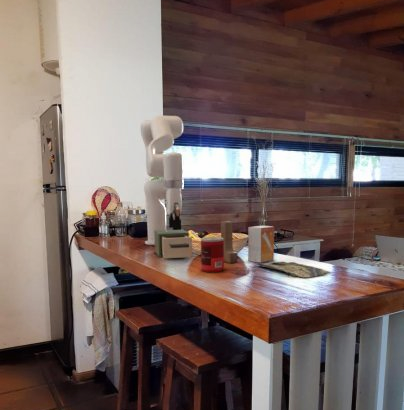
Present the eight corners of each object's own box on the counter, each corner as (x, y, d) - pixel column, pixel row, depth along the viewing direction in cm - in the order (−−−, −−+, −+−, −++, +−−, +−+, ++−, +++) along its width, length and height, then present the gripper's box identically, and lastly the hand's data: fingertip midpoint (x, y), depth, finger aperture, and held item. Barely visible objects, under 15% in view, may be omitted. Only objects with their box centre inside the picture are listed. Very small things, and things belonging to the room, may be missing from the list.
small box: (261, 263, 155) (261, 227, 153) (247, 261, 159) (247, 226, 157) (274, 260, 160) (274, 226, 158) (261, 258, 165) (261, 225, 163)
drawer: (195, 259, 160) (194, 239, 159) (165, 261, 157) (164, 240, 156) (185, 251, 178) (185, 233, 177) (159, 253, 176) (158, 234, 175)
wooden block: (221, 260, 161) (220, 221, 159) (228, 259, 163) (227, 221, 160) (230, 263, 155) (230, 222, 153) (237, 262, 157) (237, 222, 154)
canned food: (226, 268, 146) (226, 236, 144) (221, 273, 138) (220, 239, 137) (205, 267, 148) (204, 236, 146) (198, 272, 140) (198, 239, 139)
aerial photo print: (341, 271, 138) (341, 266, 137) (303, 279, 126) (304, 274, 126) (283, 261, 157) (283, 257, 157) (246, 267, 146) (246, 263, 146)
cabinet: (189, 255, 174) (188, 232, 173) (159, 257, 172) (158, 233, 170) (183, 250, 188) (182, 229, 187) (155, 251, 186) (154, 230, 184)
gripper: (161, 185, 172) (162, 227, 175) (167, 185, 156) (168, 231, 158) (179, 185, 174) (180, 226, 177) (187, 185, 157) (188, 230, 160)
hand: (175, 228), depth 168 cm, fingers open, 9 cm apart
